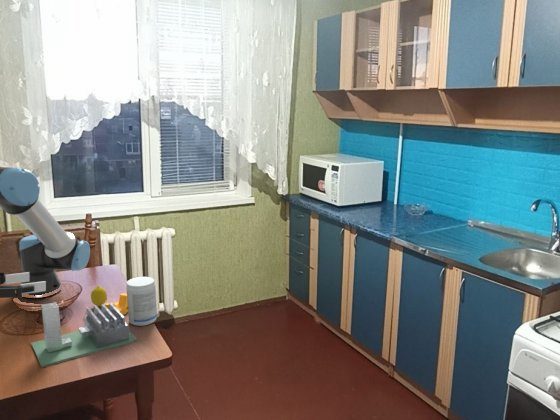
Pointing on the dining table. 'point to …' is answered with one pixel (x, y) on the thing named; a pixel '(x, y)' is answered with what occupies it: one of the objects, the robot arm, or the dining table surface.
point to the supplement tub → (141, 301)
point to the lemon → (98, 296)
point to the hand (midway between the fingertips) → (37, 281)
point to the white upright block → (53, 328)
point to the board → (71, 348)
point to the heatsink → (105, 326)
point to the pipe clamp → (121, 304)
